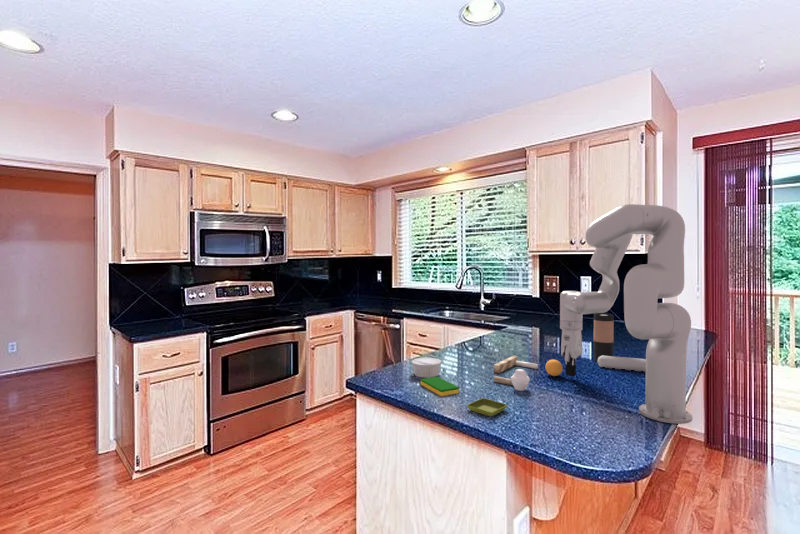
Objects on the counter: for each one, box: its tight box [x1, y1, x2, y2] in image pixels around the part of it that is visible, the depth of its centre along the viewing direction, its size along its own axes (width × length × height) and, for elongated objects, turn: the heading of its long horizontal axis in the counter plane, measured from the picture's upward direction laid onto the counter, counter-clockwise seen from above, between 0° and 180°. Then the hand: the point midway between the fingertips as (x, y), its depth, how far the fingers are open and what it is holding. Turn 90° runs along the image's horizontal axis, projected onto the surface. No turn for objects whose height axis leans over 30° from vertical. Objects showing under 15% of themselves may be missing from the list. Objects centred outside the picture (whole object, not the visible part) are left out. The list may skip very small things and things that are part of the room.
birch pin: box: [493, 375, 514, 387], centre depth 145 cm, size 2×2×9 cm
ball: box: [544, 359, 563, 377], centre depth 154 cm, size 6×6×6 cm
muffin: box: [510, 368, 531, 392], centre depth 139 cm, size 6×6×7 cm
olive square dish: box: [466, 397, 508, 417], centre depth 120 cm, size 9×9×2 cm
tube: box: [596, 355, 646, 373], centre depth 162 cm, size 5×5×25 cm
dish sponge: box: [420, 376, 460, 397], centre depth 140 cm, size 7×14×2 cm, turn 26°
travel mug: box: [593, 312, 615, 363], centre depth 175 cm, size 8×8×20 cm
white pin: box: [514, 360, 539, 370], centre depth 167 cm, size 2×2×9 cm
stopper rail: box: [493, 355, 519, 374], centre depth 165 cm, size 18×2×3 cm, turn 141°
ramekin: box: [411, 357, 442, 379], centre depth 157 cm, size 11×11×5 cm
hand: (570, 375), depth 150 cm, fingers closed
